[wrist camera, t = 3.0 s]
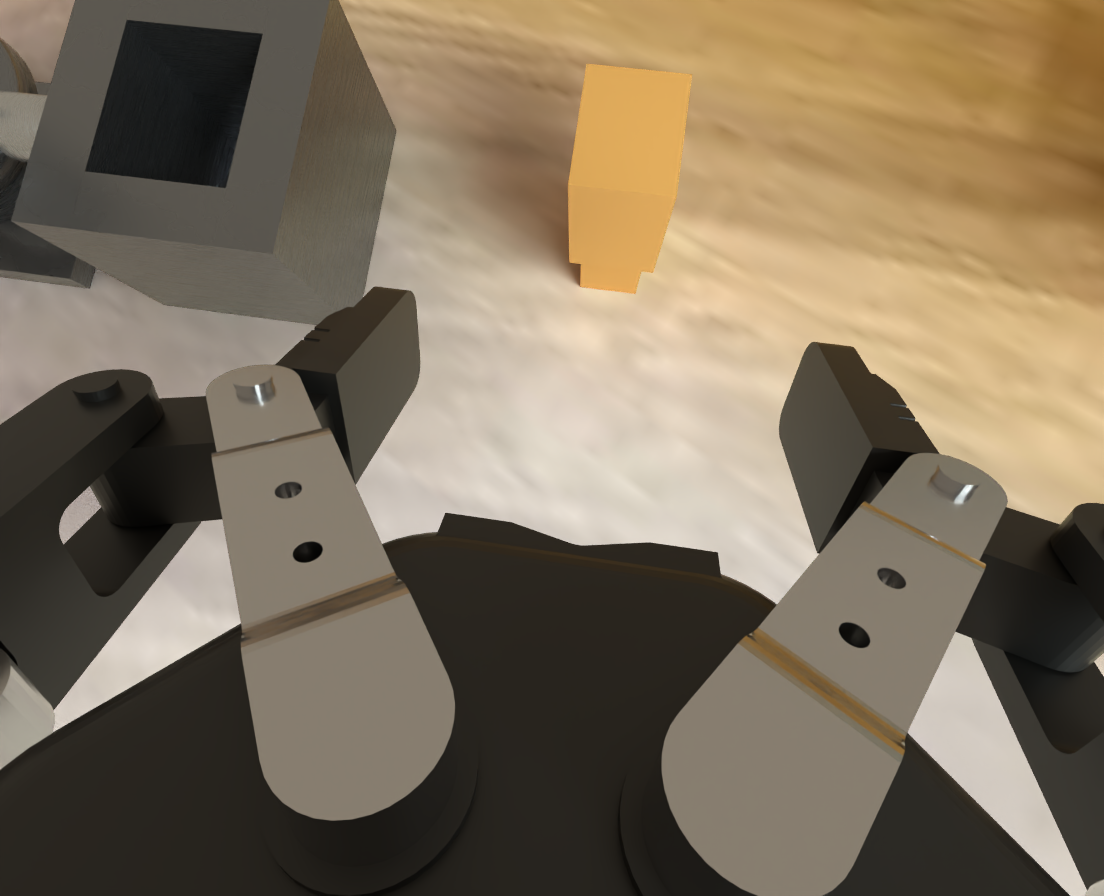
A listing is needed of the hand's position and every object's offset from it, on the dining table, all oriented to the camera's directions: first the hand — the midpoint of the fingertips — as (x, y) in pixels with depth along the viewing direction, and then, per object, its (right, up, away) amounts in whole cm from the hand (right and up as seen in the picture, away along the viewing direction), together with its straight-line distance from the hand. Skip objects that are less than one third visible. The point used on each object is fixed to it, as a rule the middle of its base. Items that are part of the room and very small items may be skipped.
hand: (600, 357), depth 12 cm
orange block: (+2, +6, +13) cm, 15 cm away
